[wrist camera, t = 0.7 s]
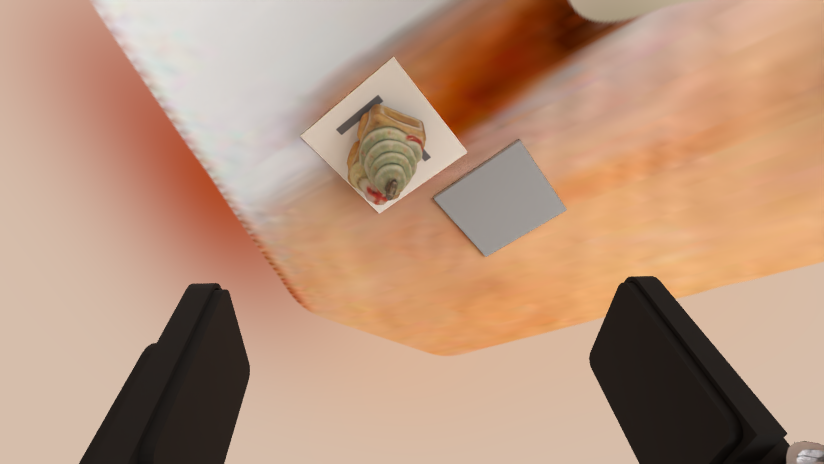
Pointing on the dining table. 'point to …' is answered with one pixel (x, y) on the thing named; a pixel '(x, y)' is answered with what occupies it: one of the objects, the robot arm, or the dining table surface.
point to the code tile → (397, 93)
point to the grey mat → (501, 199)
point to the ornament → (385, 153)
